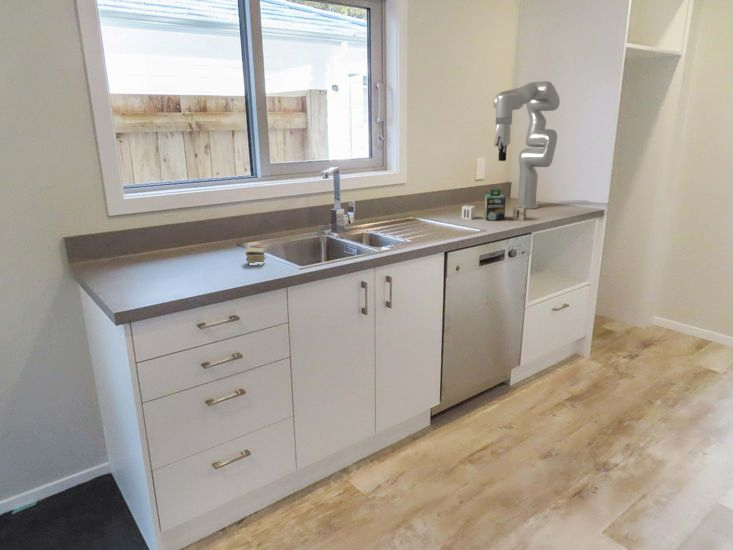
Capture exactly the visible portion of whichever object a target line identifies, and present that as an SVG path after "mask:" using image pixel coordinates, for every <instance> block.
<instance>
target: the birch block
mask: <svg viewBox="0 0 733 550" xmlns="http://www.w3.org/2000/svg"><path fill="white" fill-rule="evenodd" d="M527 210H528V209H527V207H522V206H516V207H515V206H514V207H513V210H512V220H513V221H522V222H523V221H525V220H526V219H527Z"/></svg>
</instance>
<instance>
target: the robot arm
mask: <svg viewBox="0 0 733 550" xmlns="http://www.w3.org/2000/svg"><path fill="white" fill-rule="evenodd" d="M524 105H526V110H527V114H528V117H529V123H528V124H529V125H528V128H527V129H528V130H527V132H526V133H527V134H526V138H525V143H526V146H528V147H529V148H524V149H522V150H520V151H519V154H518V162H519V163H518V164H519V165H518V166H519V178H518V192H517V193H518V195H517V203H516V204H514V207H516V206H522V207H527V210H530V209H531V210H532V209H538V208H539V205H538V204H537V203H536V202H537V190H538V177H539V176H538V172H537V170H536V168H548V167H550V166H551V165H552V163H553V159H554V155H555V151H556V146H557V142H558V134H557V133H558V132H557V131H556V130H555V129H552V128H546V125H547V120H546V119H547V118H546V117H545V116H544V114H543V113H542V112H549V111H550V112H551V111H556V110H557V109H558V108H559V106H560V96H559V94H558V92H557V89H556V87H555V86H554V85H553V84H552V82H550V81H547V80H546V81H545V80H543V81H533V82H528V83H527V84H524V85H522V86H520V87H515V88H513V89H508V90H504V91H501V92H500V93H499V92H498V94H496V95H495V97H494V99H493V107H494V108H495V133H494V147H497V150H498V161H499V162H506V160H507V150H508V146H509V145H510V144H511V125H513V111H515V110H516V111H517V110H520V109H521V108H523V107H524Z"/></svg>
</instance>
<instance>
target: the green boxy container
mask: <svg viewBox="0 0 733 550" xmlns="http://www.w3.org/2000/svg"><path fill="white" fill-rule="evenodd" d="M495 192H497V193H495ZM501 193H502V191H501V189H500V188H499V189H498V188H495V189H494V188H493V189H490V194H485V195H484V208H483V209H484V211H483V213H484V217H483V218H484V219H485V221H498V222H499V221H503V222H504V221H505V220H506V219H505V217H506V198H507V197H506V196H505V195H504V194H501Z"/></svg>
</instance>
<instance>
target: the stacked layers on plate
mask: <svg viewBox="0 0 733 550" xmlns="http://www.w3.org/2000/svg"><path fill="white" fill-rule="evenodd" d="M265 254H266V252H265V248H261V247H248V248H245V255H246V262H247V264H248V263H255V262H264V260H265V261H266V258H267V257H265Z"/></svg>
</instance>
